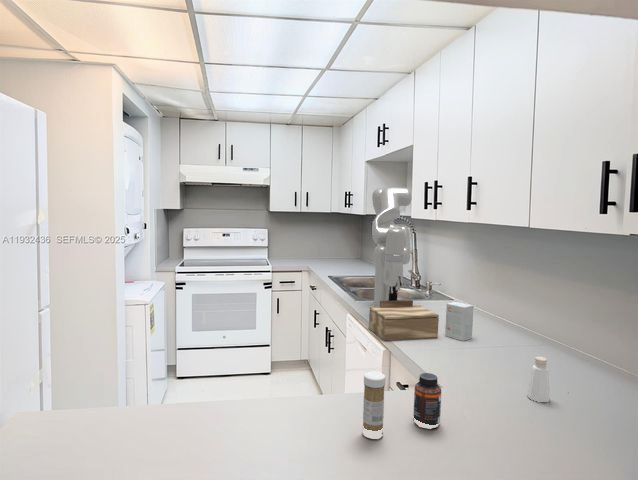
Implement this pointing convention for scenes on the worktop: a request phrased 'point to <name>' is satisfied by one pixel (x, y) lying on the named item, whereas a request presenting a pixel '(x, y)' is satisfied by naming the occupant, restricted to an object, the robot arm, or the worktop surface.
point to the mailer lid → (402, 310)
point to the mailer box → (403, 327)
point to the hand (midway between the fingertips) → (392, 302)
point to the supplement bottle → (427, 399)
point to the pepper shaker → (539, 381)
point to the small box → (459, 321)
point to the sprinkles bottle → (373, 401)
